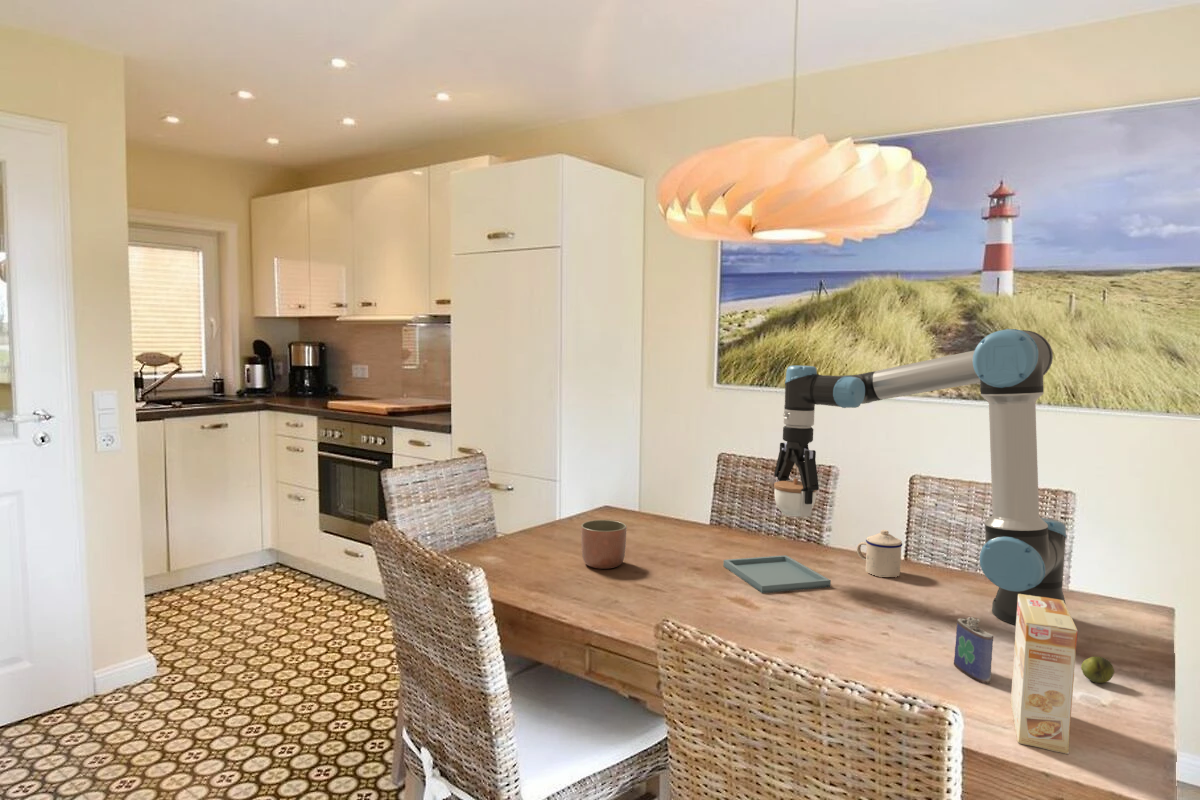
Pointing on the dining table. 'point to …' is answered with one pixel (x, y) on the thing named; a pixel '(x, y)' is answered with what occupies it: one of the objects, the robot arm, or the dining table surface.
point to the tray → (776, 574)
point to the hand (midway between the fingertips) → (794, 510)
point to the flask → (973, 650)
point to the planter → (603, 543)
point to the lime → (1097, 669)
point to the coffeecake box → (1043, 672)
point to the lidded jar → (790, 497)
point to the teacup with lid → (882, 554)
